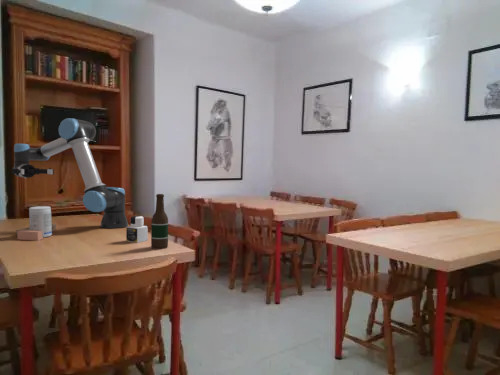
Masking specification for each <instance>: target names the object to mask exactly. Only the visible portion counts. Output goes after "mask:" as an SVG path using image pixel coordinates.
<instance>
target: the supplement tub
mask: <svg viewBox="0 0 500 375" xmlns="http://www.w3.org/2000/svg"><path fill="white" fill-rule="evenodd" d="M28 210H29V211H28V217H29V219H28V220H29V227H30V230H31V231H42V237H43V238H48V237H51V236H52V235H53V230H52V224H53V223H52V210H51V206H45V205H43V206H42V205H41V206H32V207H29V208H28Z"/></svg>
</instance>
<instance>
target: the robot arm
mask: <svg viewBox="0 0 500 375" xmlns="http://www.w3.org/2000/svg"><path fill="white" fill-rule="evenodd" d="M58 134H59V137H58V138H57V139H55V140H52V141H50V142H48V143H46V144H44V145H41V146H40V147H30V145H29V144H27V143H15V144H14V146H13V153H14V154H13V156H14V159H13V160H14V161H13V162H14V163H13V167H12V168H11V174H12V175H15V176H17V177H19V178H23V179H28V178H32V177H34V176H36V175H40V174H41V175H43V174H44V175H45V174H47V175H54V174H55V171H54V169H51V167H49V168H48V169H47V168H39V167H38V168H37V167H35V166H34V165H32V164H30V161H40V162H43V161H48V160H49V159H50V158H51V156H54V155H57V154H59V153H61V152H65V150H66V151H67V150H68V149H72V152H73V154H74V158H75V161H76V163H77V166H78V169H79V171H80V175H81V177H82V180H83V183H84V186H85V188H84V190H83V192H84V194H83V198H82V204H83V205H84V207H85V209H87V210H88V211H90V212H92V213H101V212H103V216H102V218H101V221H100V228H103V229H120V228H121V229H122V228H126V227H128V226H129V223H128V222H129V221H128V219H127V216H126V192H125V189H124V188H122V187H114V186H111V187H110V186H107V184H105V183H103V182H102V180H101V176H100V174H99V170H98V168H97V164H96V162H95V160H94V157H93V156H94V155H93V154H92V151H91V148H90V145H89V142H91V141H92V140H94V139H95V137H96V134H97V130H96V127H95V125H94V124H93V123H91V122H90V121H87V120H82V119H76V118H70V117H69V118H67V117H66V118H65V119H63V120H61V121H60V125H59V126H58Z"/></svg>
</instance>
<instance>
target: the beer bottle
mask: <svg viewBox="0 0 500 375" xmlns="http://www.w3.org/2000/svg"><path fill="white" fill-rule="evenodd" d="M155 197H156V199H155V200H156V202H155V212H154V213H153V215H152V217H151V223H150V225H151V229H150V230H151V234H150V235H151V237H150V238H151V240H150V241H151V242H150V246H151V247H150V248H152V249H154V250H163V249H167V248H169V247H168V246H169V217H168V215H167V214H166V212H165V201H164V199H165V198H164V197H165V194H163V193H157V194H156V195H155Z"/></svg>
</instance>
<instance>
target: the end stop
mask: <svg viewBox="0 0 500 375" xmlns="http://www.w3.org/2000/svg"><path fill="white" fill-rule="evenodd" d="M16 237H17V240H24V241H41V240H43V237H42V231H31V230H20V231H17V236H16Z"/></svg>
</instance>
